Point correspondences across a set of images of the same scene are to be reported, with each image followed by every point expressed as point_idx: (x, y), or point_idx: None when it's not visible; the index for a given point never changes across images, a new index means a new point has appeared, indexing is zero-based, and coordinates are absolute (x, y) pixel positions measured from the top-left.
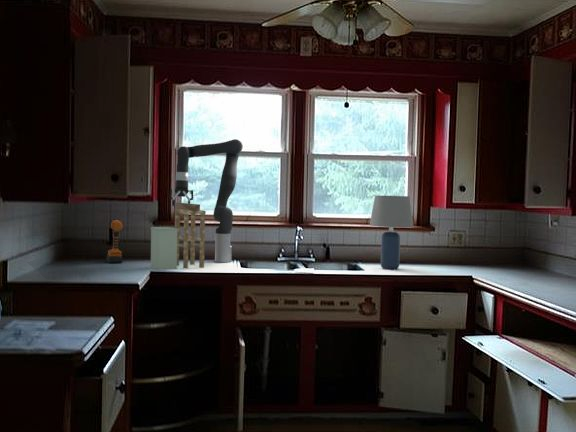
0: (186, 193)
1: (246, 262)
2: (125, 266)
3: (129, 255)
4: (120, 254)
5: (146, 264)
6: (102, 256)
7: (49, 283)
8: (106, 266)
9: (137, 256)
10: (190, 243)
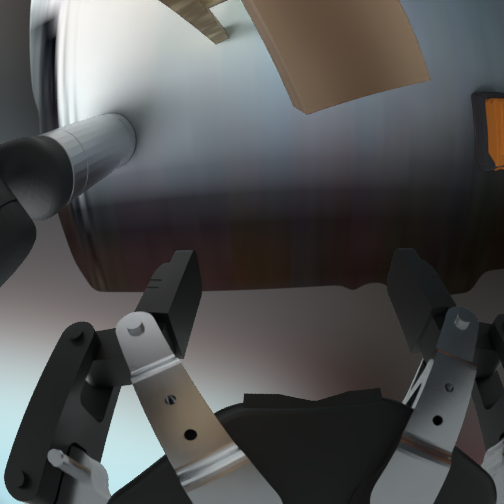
0: (165, 467)
1: None
2: (452, 14)
3: None
4: (492, 98)
5: None
6: (490, 259)
7: None
8: (494, 32)
9: None
10: (214, 19)
